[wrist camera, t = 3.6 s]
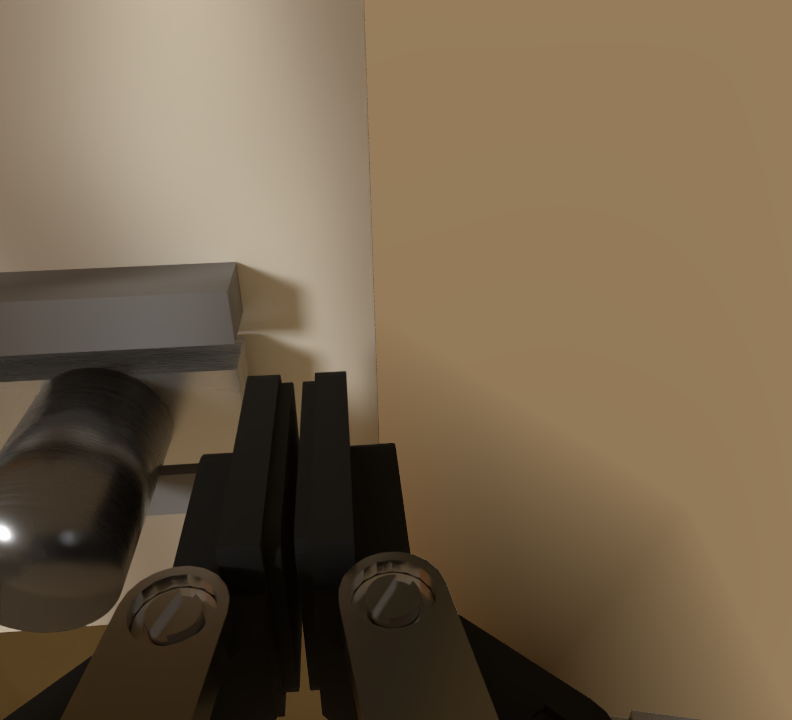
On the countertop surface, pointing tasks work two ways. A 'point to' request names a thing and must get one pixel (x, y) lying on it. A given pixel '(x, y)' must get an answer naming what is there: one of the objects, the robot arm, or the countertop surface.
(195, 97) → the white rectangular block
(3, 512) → the bolt
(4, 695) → the countertop surface
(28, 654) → the countertop surface
